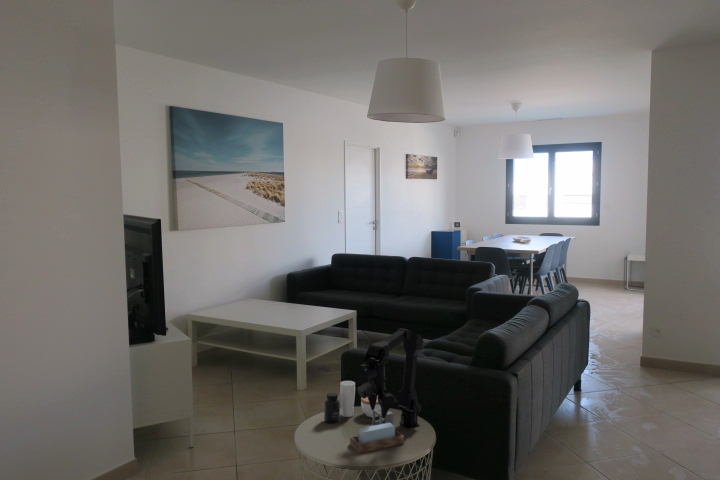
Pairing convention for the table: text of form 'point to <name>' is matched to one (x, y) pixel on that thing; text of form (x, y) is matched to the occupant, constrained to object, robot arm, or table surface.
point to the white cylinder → (347, 397)
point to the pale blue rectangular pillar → (376, 433)
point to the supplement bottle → (332, 409)
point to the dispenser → (387, 419)
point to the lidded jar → (369, 407)
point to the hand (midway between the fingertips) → (378, 413)
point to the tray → (376, 443)
